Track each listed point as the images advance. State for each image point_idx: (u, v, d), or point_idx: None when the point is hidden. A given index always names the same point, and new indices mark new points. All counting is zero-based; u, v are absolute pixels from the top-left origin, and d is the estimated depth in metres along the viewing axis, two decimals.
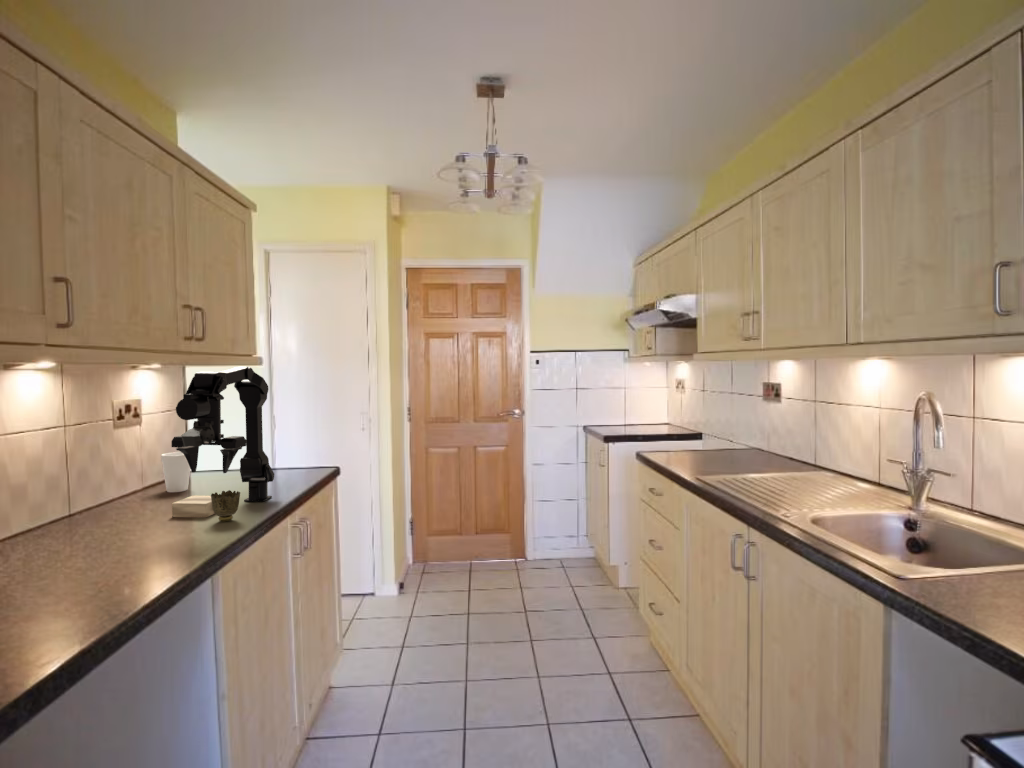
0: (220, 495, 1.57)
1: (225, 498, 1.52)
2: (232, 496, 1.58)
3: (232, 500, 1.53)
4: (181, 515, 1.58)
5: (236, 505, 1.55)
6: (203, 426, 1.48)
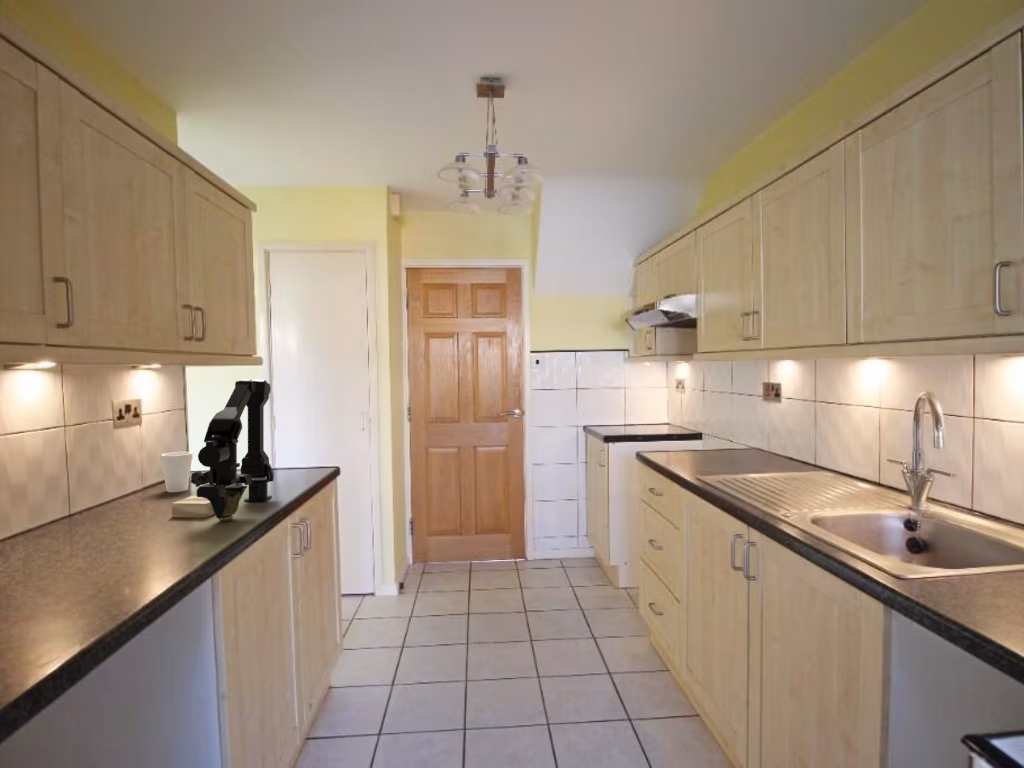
0: None
1: None
2: (232, 496, 1.58)
3: (232, 500, 1.53)
4: (181, 515, 1.58)
5: (236, 505, 1.55)
6: None
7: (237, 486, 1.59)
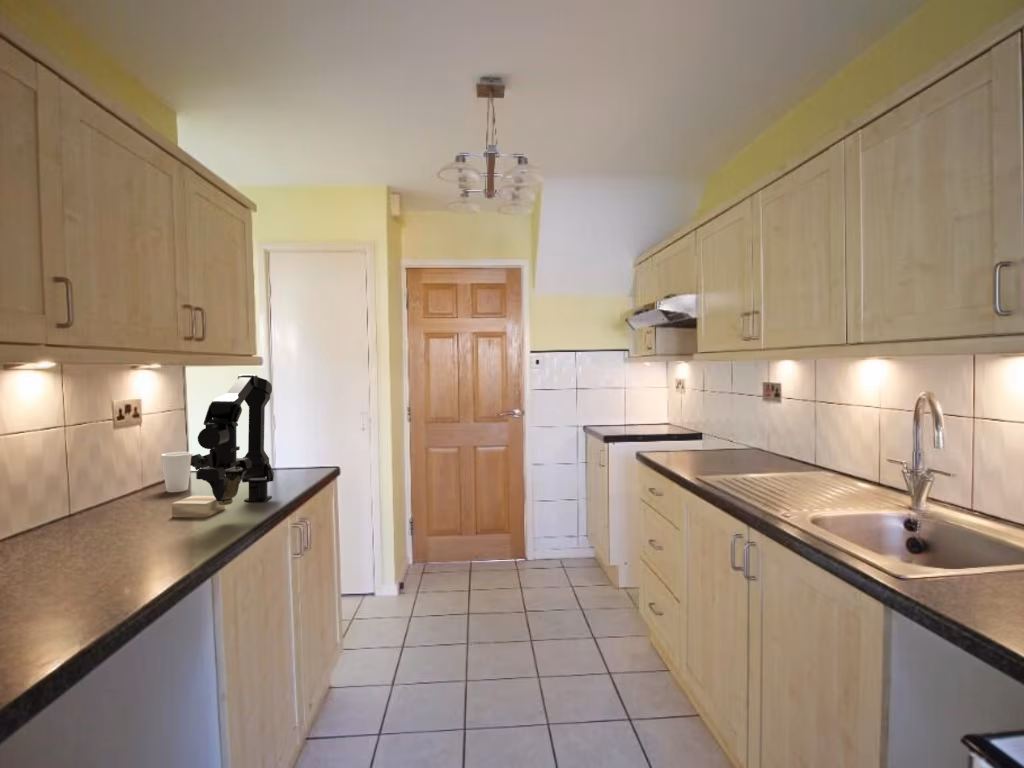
0: None
1: None
2: (232, 480, 1.58)
3: (232, 483, 1.53)
4: (181, 515, 1.58)
5: (236, 488, 1.54)
6: None
7: (237, 470, 1.59)
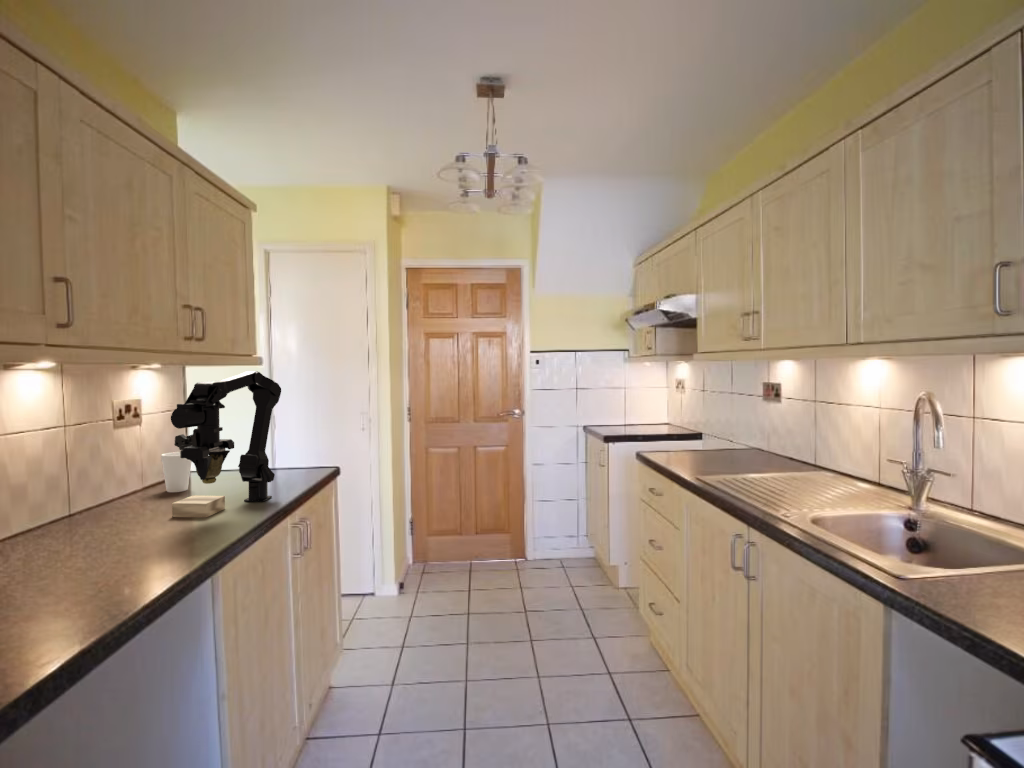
0: None
1: None
2: (215, 459, 1.63)
3: (215, 462, 1.58)
4: (181, 515, 1.58)
5: (219, 467, 1.60)
6: None
7: (220, 450, 1.64)
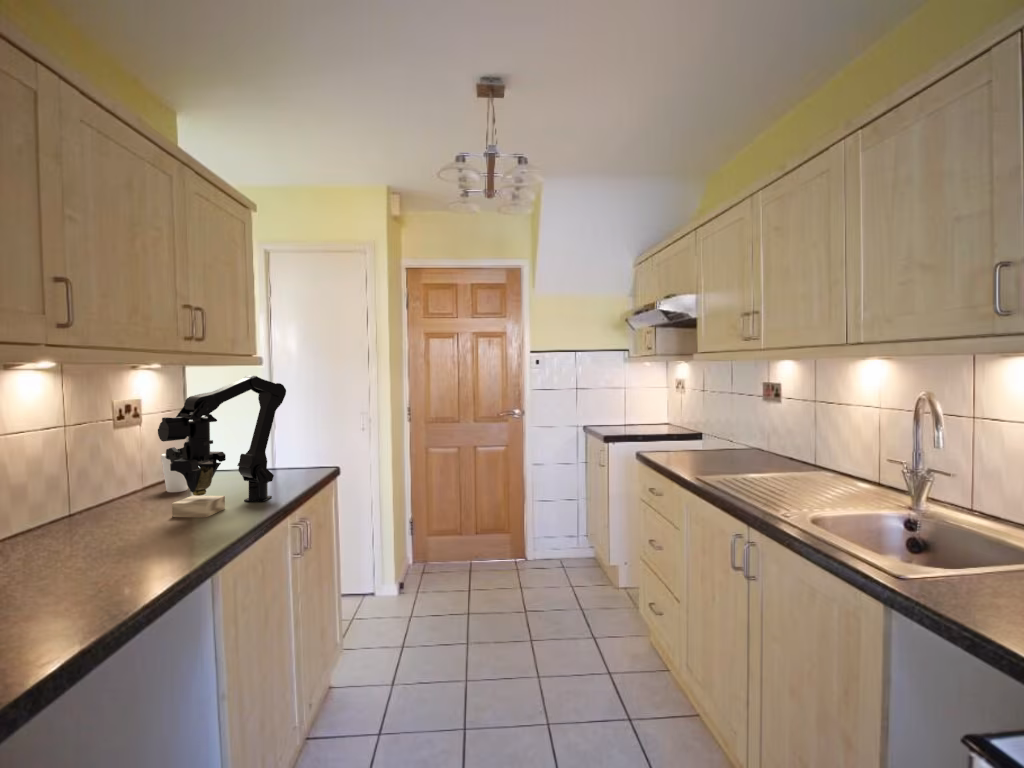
0: None
1: None
2: (206, 472, 1.67)
3: (205, 475, 1.61)
4: (181, 515, 1.58)
5: (209, 480, 1.63)
6: None
7: (211, 462, 1.67)
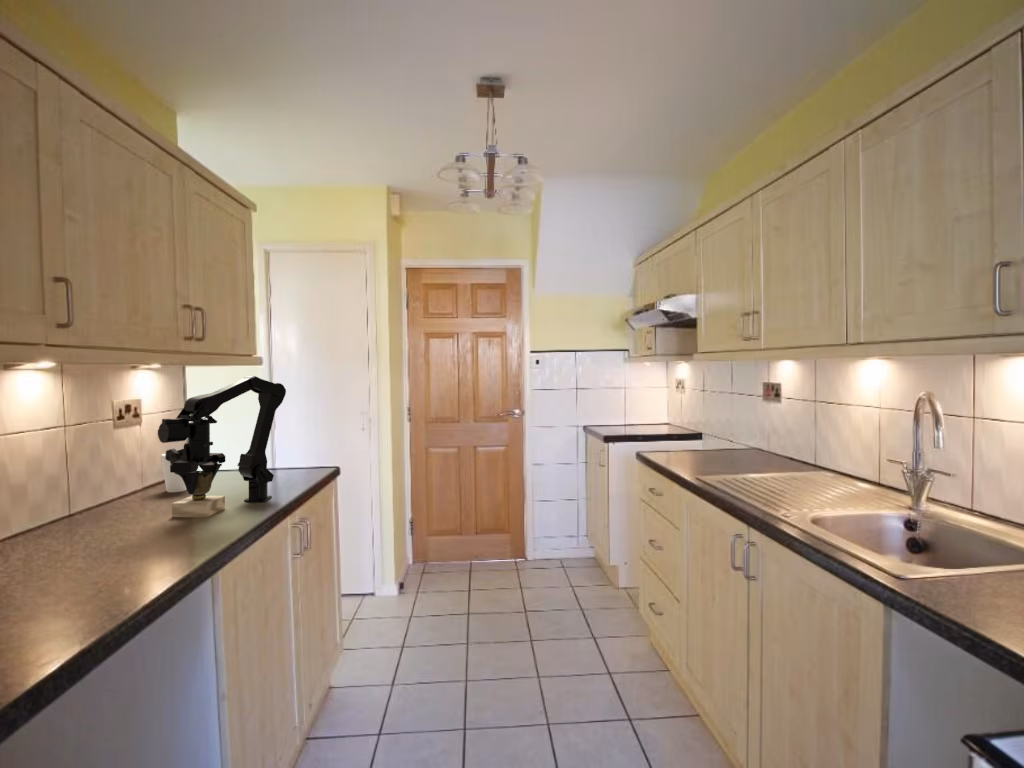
0: None
1: (198, 477, 1.60)
2: (205, 476, 1.66)
3: (204, 479, 1.61)
4: (181, 515, 1.58)
5: (209, 484, 1.63)
6: None
7: (212, 463, 1.68)
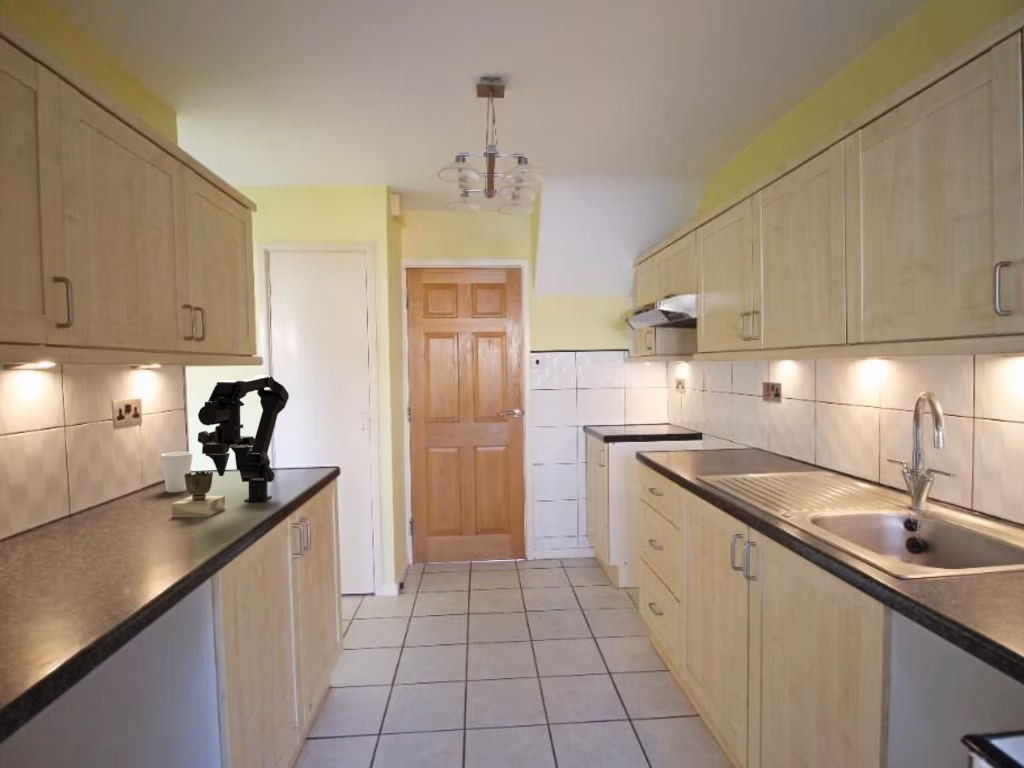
0: (194, 475, 1.65)
1: (198, 477, 1.60)
2: (205, 476, 1.66)
3: (204, 480, 1.61)
4: (181, 515, 1.58)
5: (209, 484, 1.63)
6: None
7: (243, 446, 1.71)
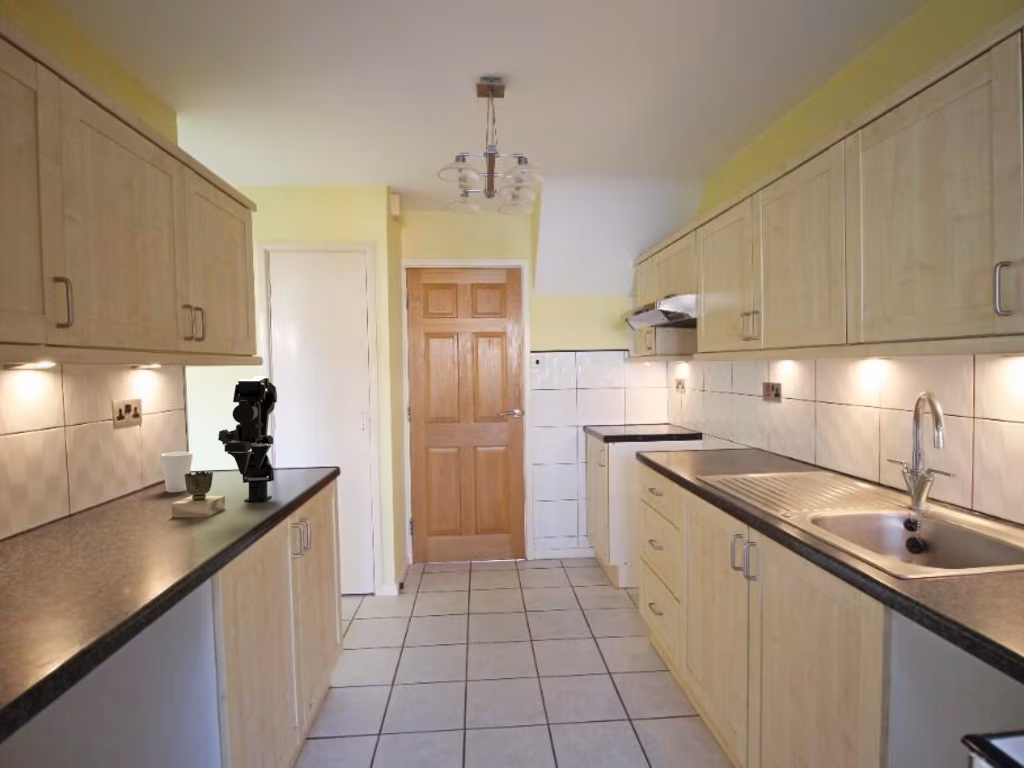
0: (194, 475, 1.65)
1: (198, 477, 1.60)
2: (205, 476, 1.66)
3: (205, 479, 1.61)
4: (181, 515, 1.58)
5: (209, 484, 1.63)
6: None
7: (262, 445, 1.72)
